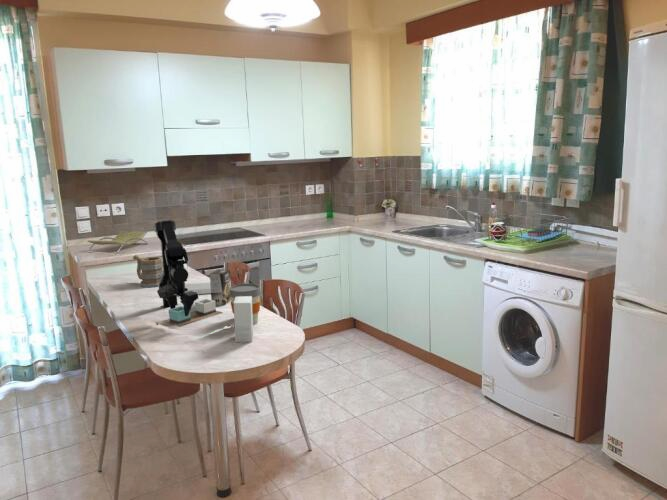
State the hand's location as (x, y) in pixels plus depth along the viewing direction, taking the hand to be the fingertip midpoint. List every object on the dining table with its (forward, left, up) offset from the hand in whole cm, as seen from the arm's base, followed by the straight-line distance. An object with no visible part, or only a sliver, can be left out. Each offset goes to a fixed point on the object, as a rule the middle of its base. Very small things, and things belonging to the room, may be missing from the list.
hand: (179, 313), depth 216 cm
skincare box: (+34, +4, -5) cm, 35 cm away
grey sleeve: (0, +13, -3) cm, 13 cm away
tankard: (-70, +31, -5) cm, 77 cm away
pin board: (0, +6, -4) cm, 8 cm away
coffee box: (-6, +27, -5) cm, 28 cm away
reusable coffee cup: (+21, +17, -5) cm, 28 cm away
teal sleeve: (0, 0, -3) cm, 3 cm away
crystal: (-31, +36, -5) cm, 48 cm away
